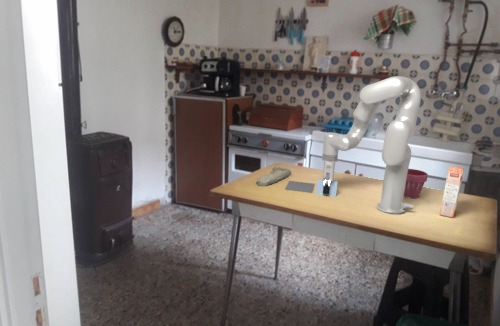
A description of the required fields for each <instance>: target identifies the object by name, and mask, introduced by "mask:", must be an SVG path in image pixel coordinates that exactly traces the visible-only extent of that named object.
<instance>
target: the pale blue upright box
mask: <svg viewBox="0 0 500 326" xmlns="http://www.w3.org/2000/svg"><path fill="white" fill-rule="evenodd" d="M323 186H324V180H323V178H322V179H321V178H317V180H316V190H315V195H322V196H331V197H337V192H338V191H337V190H338V180H333V181H330V191H329V194H323Z"/></svg>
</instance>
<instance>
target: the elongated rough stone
mask: <svg viewBox="0 0 500 326" xmlns="http://www.w3.org/2000/svg"><path fill="white" fill-rule="evenodd" d="M291 174H292V170H291V169H289V168H283V167H279V166H278V167H277V166H274V167H273V168H272V169H271V171H270V173H267V174H265V175H263V176H261V177H259V178H257V180H256V181H255V184H256V185H257V186H258V187H267V186H269V185H272V184H276V183H278V182H281V181H282V180H284V179H286V178H288V177H289V176H290V175H291Z"/></svg>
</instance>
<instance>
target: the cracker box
mask: <svg viewBox="0 0 500 326" xmlns="http://www.w3.org/2000/svg"><path fill="white" fill-rule="evenodd" d="M464 170H465V168H464V167H462V166H455V165H450V166H449V169H448V170H447V174H446V175H447V176H446V180H445V186H444V189H443V195H442V201H441V206H440V212H439V216H443V217H447V218H452V219H453V218H454V216H455V213H456V209H457V205H458V200H459V197H460V192H461V187H462V181H463V177H464V172H465V171H464Z"/></svg>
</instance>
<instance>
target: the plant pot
mask: <svg viewBox="0 0 500 326" xmlns="http://www.w3.org/2000/svg"><path fill="white" fill-rule="evenodd" d="M428 175H429V174H428V173H427V172H426V171H424V170H420V169H415V168H408V173H407V179H406V185H405V191H404V196H405V197H404V198H408V197H410V198H409V199H418V198H419V197H420V194H421V192H422V190H423V188H424V185H425V183H426V182H427V181H428ZM417 197H418V198H417Z"/></svg>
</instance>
